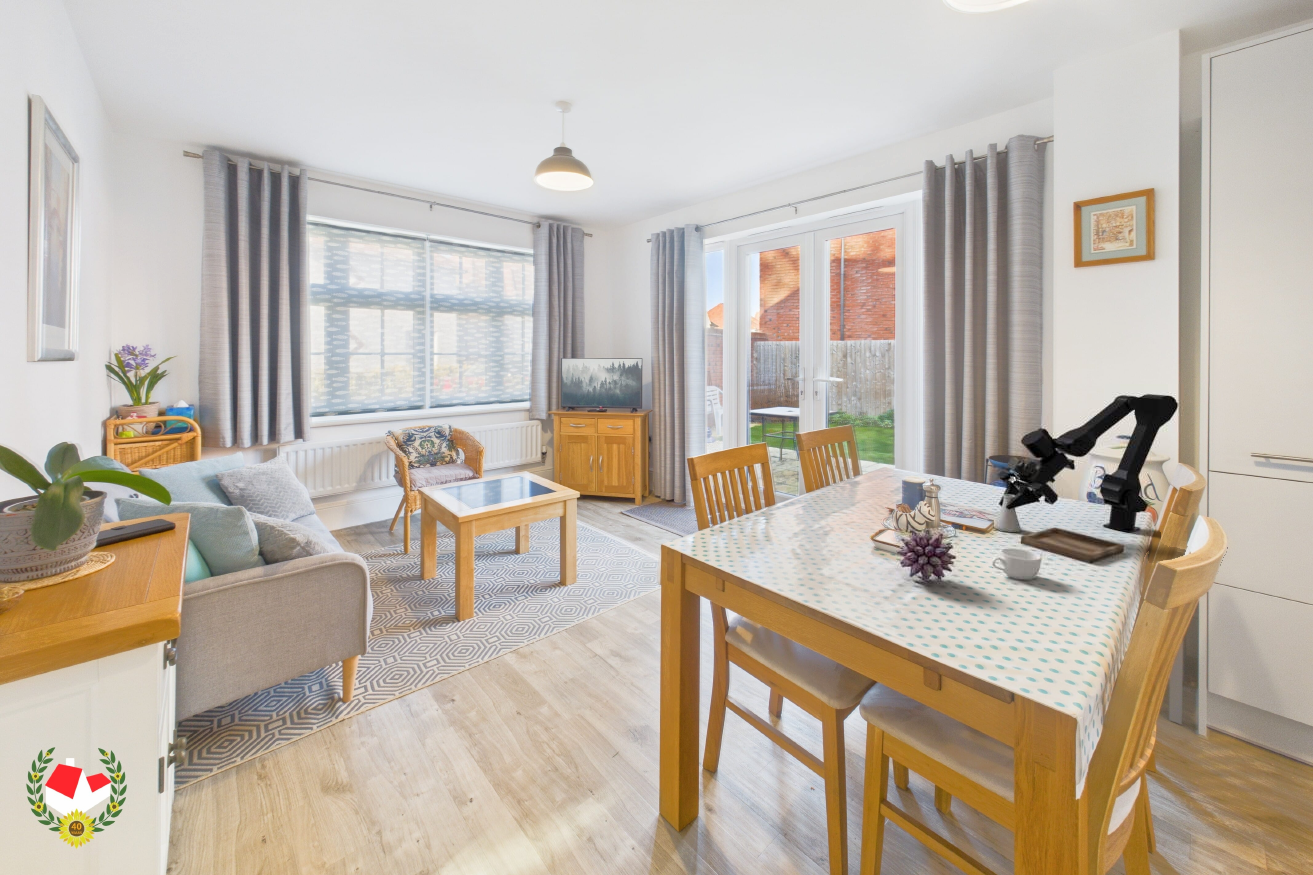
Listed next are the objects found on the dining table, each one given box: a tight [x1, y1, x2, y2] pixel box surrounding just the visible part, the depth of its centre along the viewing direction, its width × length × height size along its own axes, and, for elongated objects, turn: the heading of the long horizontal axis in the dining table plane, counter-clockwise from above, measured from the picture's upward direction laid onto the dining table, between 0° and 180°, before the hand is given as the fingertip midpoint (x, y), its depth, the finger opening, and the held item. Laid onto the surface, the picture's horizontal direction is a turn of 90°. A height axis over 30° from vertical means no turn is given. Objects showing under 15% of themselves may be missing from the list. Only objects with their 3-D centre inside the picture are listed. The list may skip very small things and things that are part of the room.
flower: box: [896, 527, 957, 583], centre depth 121 cm, size 12×12×12 cm
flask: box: [993, 493, 1022, 533], centre depth 156 cm, size 7×7×10 cm
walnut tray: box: [1020, 527, 1125, 564], centre depth 141 cm, size 16×16×2 cm
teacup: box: [991, 547, 1043, 581], centre depth 123 cm, size 10×8×5 cm
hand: (1003, 506), depth 156 cm, fingers closed on flask, 3 cm apart
